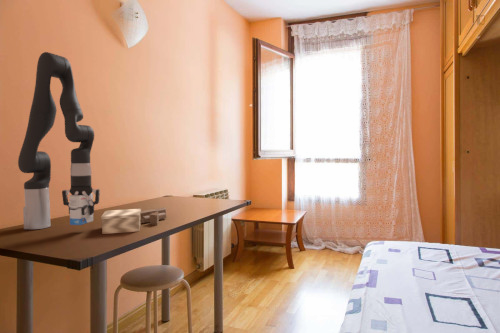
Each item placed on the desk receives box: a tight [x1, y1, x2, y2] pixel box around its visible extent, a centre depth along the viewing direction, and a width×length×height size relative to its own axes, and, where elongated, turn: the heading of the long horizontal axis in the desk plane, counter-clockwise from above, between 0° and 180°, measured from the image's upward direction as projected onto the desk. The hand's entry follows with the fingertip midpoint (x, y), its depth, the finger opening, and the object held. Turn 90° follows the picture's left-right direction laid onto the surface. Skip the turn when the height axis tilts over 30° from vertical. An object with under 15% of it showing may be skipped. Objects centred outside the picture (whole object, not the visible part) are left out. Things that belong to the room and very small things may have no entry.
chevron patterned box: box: [100, 208, 142, 235], centre depth 145 cm, size 15×15×7 cm
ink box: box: [68, 193, 94, 226], centre depth 139 cm, size 8×5×12 cm, turn 168°
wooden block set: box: [140, 207, 167, 226], centre depth 162 cm, size 17×6×18 cm
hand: (81, 214), depth 140 cm, fingers closed on ink box, 6 cm apart
